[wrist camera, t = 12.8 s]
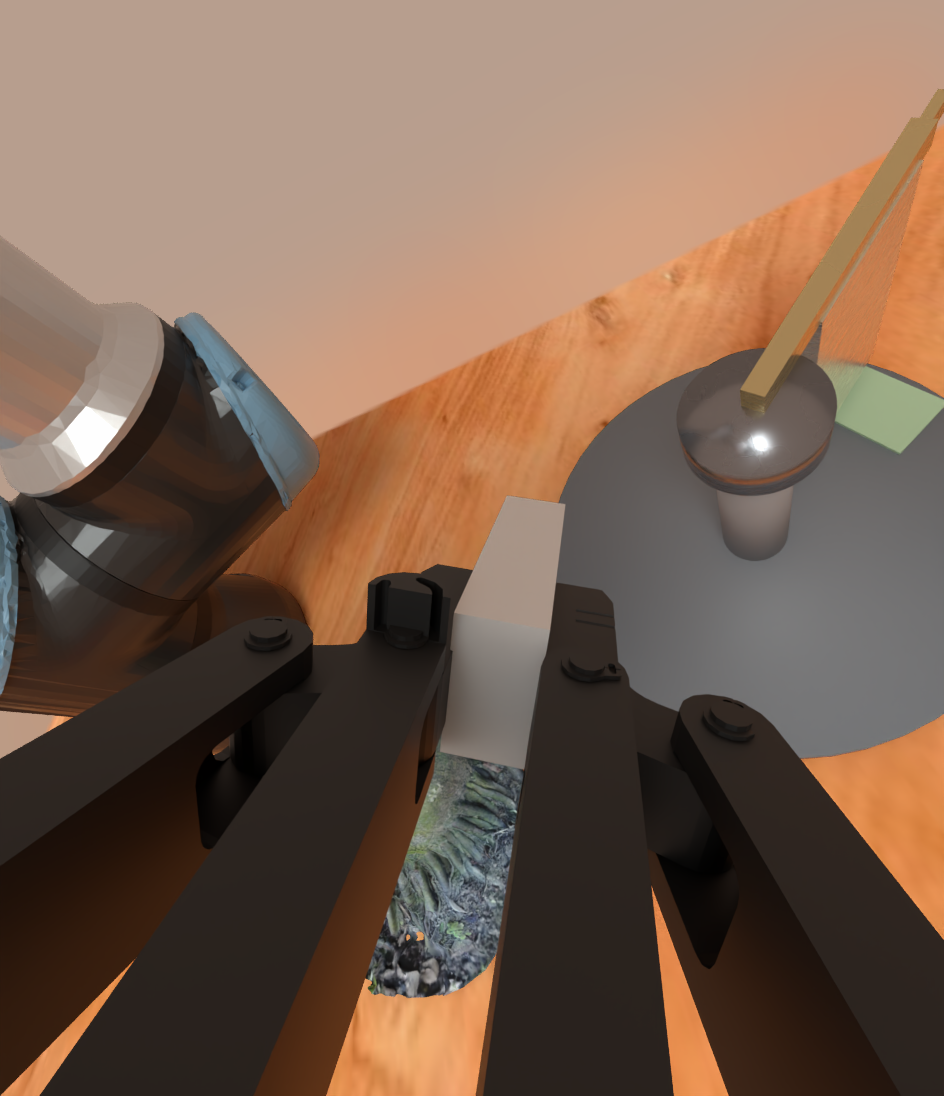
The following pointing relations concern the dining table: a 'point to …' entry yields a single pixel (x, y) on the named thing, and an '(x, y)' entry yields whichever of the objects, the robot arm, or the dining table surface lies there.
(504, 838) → the tree stump
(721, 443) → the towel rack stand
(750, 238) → the dining table surface
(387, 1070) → the dining table surface
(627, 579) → the stand
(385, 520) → the dining table surface
